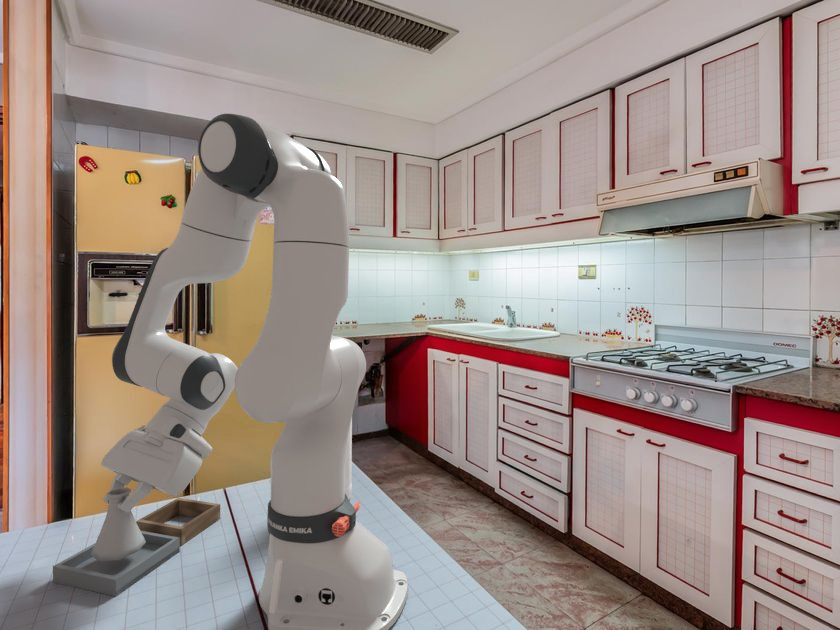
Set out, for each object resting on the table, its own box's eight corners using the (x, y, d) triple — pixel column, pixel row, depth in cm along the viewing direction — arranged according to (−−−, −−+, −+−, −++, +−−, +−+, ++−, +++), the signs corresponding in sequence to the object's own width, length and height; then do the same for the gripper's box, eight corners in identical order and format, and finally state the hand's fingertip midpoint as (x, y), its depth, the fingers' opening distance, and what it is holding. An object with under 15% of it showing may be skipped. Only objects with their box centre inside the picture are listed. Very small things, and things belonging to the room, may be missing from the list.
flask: (119, 565, 71) (118, 503, 70) (80, 559, 72) (80, 498, 72) (154, 541, 78) (154, 484, 77) (119, 536, 79) (118, 480, 79)
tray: (179, 551, 79) (179, 537, 79) (116, 596, 67) (115, 580, 67) (123, 540, 83) (123, 527, 82) (53, 582, 71) (52, 566, 70)
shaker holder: (220, 518, 91) (220, 504, 91) (181, 545, 81) (181, 529, 81) (178, 512, 94) (178, 497, 94) (136, 537, 84) (136, 521, 84)
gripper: (128, 415, 85) (68, 484, 77) (195, 433, 75) (134, 514, 67) (152, 432, 89) (97, 499, 81) (219, 451, 79) (164, 530, 71)
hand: (114, 506), depth 74 cm, fingers closed on flask, 3 cm apart
